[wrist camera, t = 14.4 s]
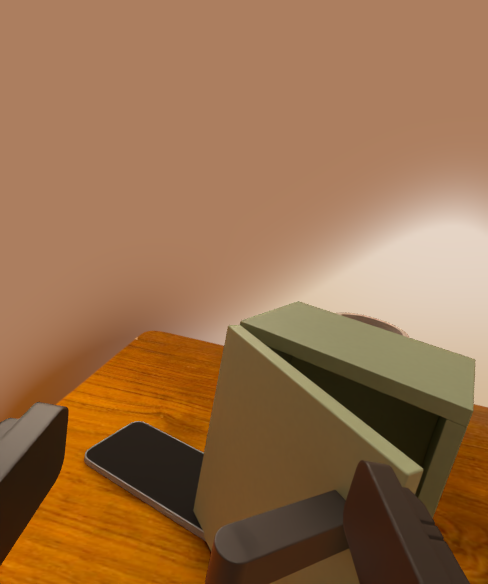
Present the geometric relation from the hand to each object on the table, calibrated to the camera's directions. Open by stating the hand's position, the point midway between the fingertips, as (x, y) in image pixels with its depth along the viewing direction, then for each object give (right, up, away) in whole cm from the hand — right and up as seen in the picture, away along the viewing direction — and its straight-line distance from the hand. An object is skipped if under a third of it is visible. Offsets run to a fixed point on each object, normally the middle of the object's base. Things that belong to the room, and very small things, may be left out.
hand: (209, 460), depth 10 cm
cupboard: (+6, -14, +21) cm, 26 cm away
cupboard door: (-2, -15, +12) cm, 19 cm away
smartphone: (-5, -12, +23) cm, 26 cm away
